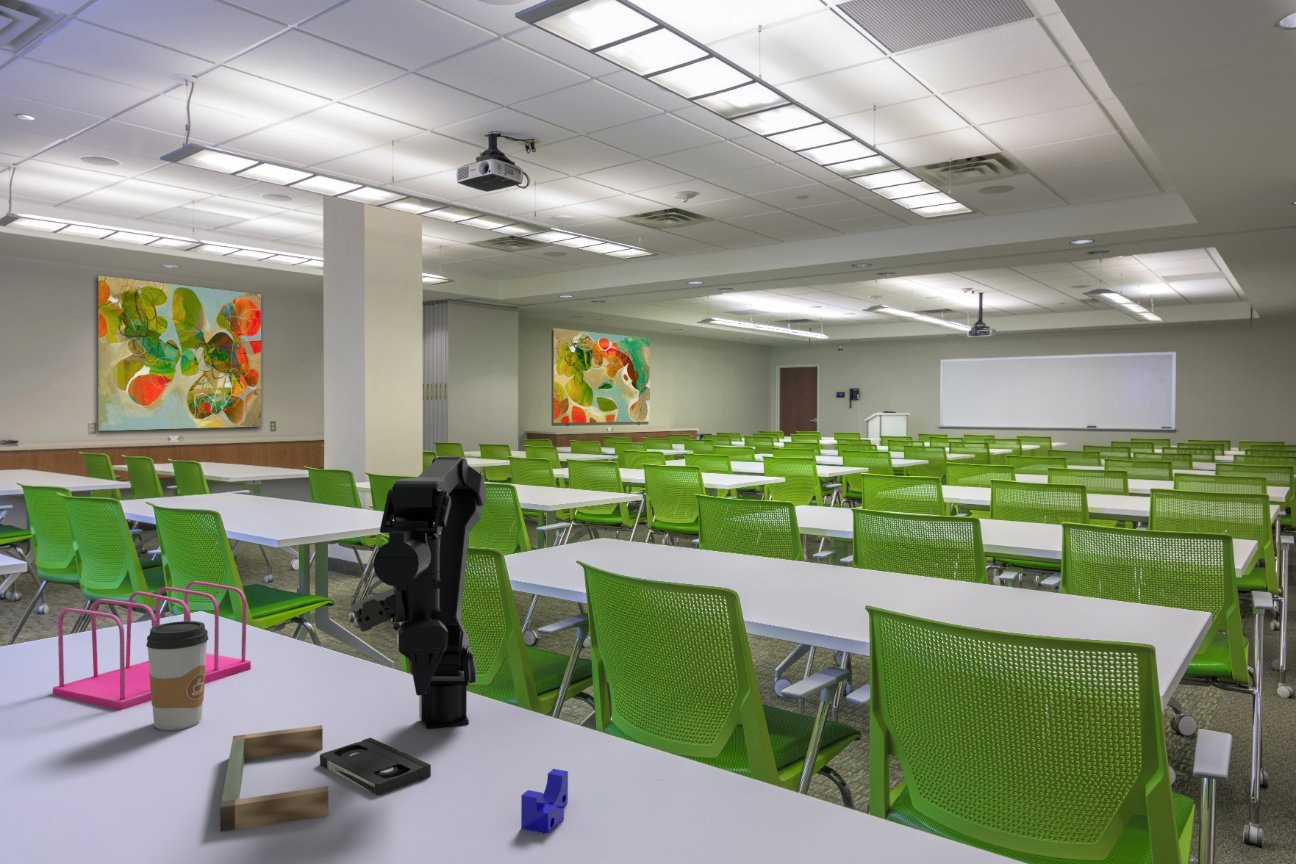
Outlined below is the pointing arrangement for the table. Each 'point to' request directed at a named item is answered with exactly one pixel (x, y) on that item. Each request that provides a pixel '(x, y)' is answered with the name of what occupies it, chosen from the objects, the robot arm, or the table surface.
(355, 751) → the vhs tape
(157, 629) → the coffee cup
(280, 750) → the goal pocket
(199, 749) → the table surface
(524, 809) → the cable holder
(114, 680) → the file sorter
